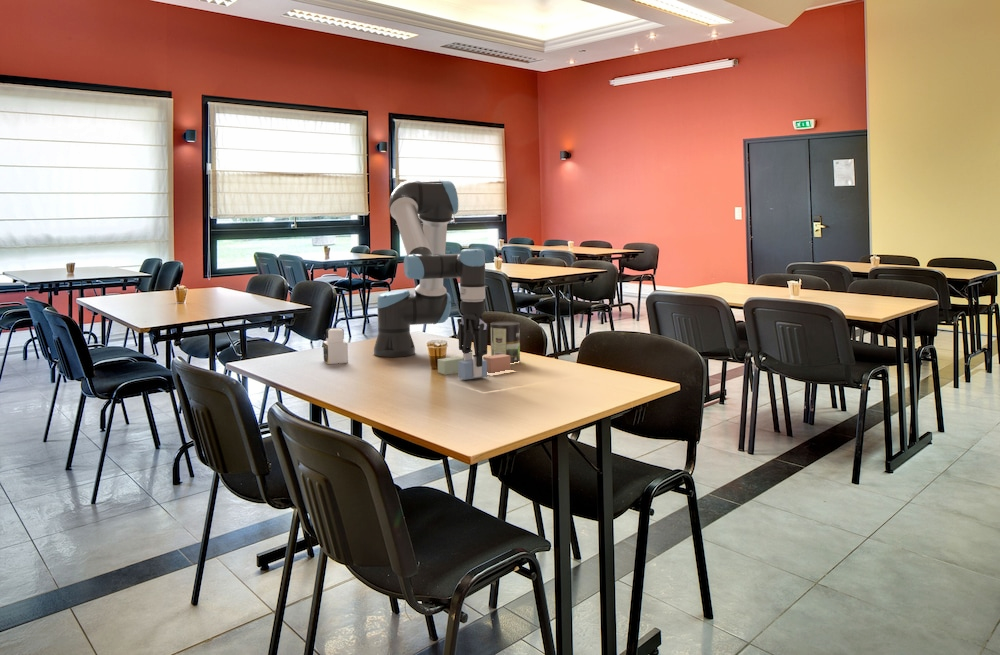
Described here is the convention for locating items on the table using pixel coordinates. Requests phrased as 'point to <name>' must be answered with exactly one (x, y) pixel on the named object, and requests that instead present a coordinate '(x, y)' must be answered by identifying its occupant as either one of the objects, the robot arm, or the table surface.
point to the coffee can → (506, 339)
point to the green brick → (449, 365)
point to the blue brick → (470, 369)
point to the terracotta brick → (497, 363)
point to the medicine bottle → (335, 347)
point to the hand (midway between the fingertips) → (472, 375)
